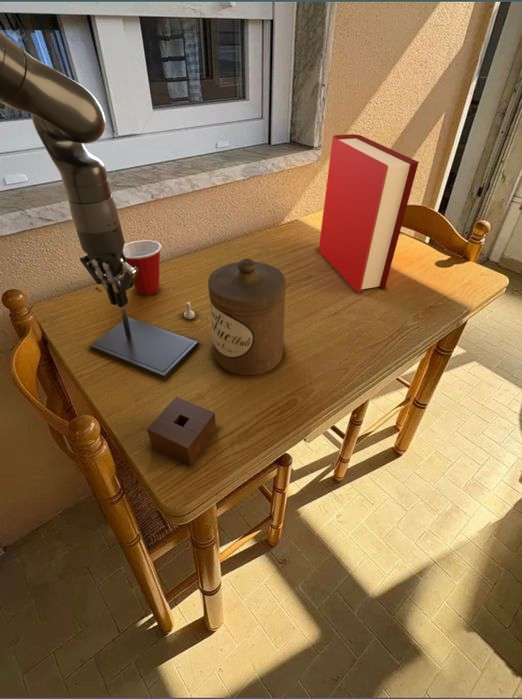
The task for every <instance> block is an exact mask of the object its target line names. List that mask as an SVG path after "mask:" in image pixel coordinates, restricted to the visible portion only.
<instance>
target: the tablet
mask: <svg viewBox="0 0 522 699" xmlns="http://www.w3.org/2000/svg"><path fill="white" fill-rule="evenodd" d="M128 321H129V326H130V331H131V337H130V338H127V337H126V335H125V330H124V325H123V321H122V320H121V322H119V323H118V324H117V325H115V326H113V327H112V328H111V329H110V330H108V331H107V332H106V333H104V334H103V335H102V336H100V337H99V338H98V339H96V340H95V341H94V342H92V343H91V344H90V345H89V347H90V349H91V350H94V351H96V352H99V353H100V354H104V355H106V356H108V357H111V358H113V359H116V360H118V361H121V362H122V363H125V364H127V365H130V366H132V367H135V368H136V369H140V370H143V371H145V372H147V373H149V374H151V375H155V376H156V377H160V378H162V379H164V380H165V379H167V378H168V377H169V375H170V374H172V373H173V371H174V370H176V368H177V367H178V366H179V365H180V364H181V363H182V362H184V360H185V359H186V358H187V357H188V356H189V355H190V354H192V352H193V351H194V350H195V349H196V348H197V347H198V346H199V341H197V340H195V339H191V338H189V337H186V336H184V335H180V334H177V333H174V332H171V331H169V330H166V329H163V328H160V327H158V326H155V325H152V324H149V323H147V322H144V321H141V320H139V319H135V318H133V317H130V316H128Z"/></svg>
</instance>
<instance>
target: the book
mask: <svg viewBox="0 0 522 699" xmlns="http://www.w3.org/2000/svg"><path fill="white" fill-rule="evenodd" d="M330 146H331V148H330V155H329V162H328V172H327V180H326V188H325V195H324V204H323V212H322V219H321V227H320V236H319V244H318V252H319V253H320V254H321V255H322V256H323V258H325V259H326V260H327V262H329V263H330V265H331V266H332V267H333V268H334V269H335V270H336V271H337V272H338V274H340V275H341V277H343V279H344V280H345V281H346V282H347V283H348V284H349V285H350V286H351V288H352V289H353V290H354V291H355V292H356V293H357V294H360V292H361V291H362V290H365V289H366V290H367V289H372V288H378V287H379V288H381V289H384V290H385V289H386V286H387V283H388V278H389V274H390V271H391V267H392V263H393V259H394V256H395V252H396V248H397V246H398V241H399V239H400V238H399V237H400V233H401V230H402V226H403V222H404V219H405V215H406V211H407V208H408V207H407V206H408V204H409V199H410V197H411V193H412V190H413V185H414V181H415V177H416V173H417V170H418V167H419V162H420V161H418V160H416V159H413V158H411V157H408V156H407V155H404V154H402V153H400V152H398V151H396V150H394V149H391V148H389V147H386V146H385V145H383V144H381V143H379V142H376V141H374V140H372V139H369V138H367V137H365V136H363V135H361V134H356V133H352V134H350V133H349V134H348V133H347V134H334V135H333V136H332V140H331V145H330Z"/></svg>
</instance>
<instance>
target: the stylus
mask: <svg viewBox="0 0 522 699" xmlns="http://www.w3.org/2000/svg"><path fill="white" fill-rule="evenodd" d="M119 284H120V282H119V281H118V285H119ZM119 311H120V315H121V322H122V321H123V325H124V330H125V335H126V337H127V338H130V337H131V331H130V326H129V321H128V317H129V316H128V312H127V306H126V305H125V306H123V307H122V308H121V307H119Z"/></svg>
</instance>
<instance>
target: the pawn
mask: <svg viewBox="0 0 522 699" xmlns="http://www.w3.org/2000/svg"><path fill="white" fill-rule="evenodd" d="M191 308H192V305H191V302H190V301H186V302H185V309H186V311H184V313H183V317H184V318H185V319H186V320H192V319H194V318H195V316H196V314H195V313H196V312H194V310H192V309H191Z"/></svg>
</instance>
